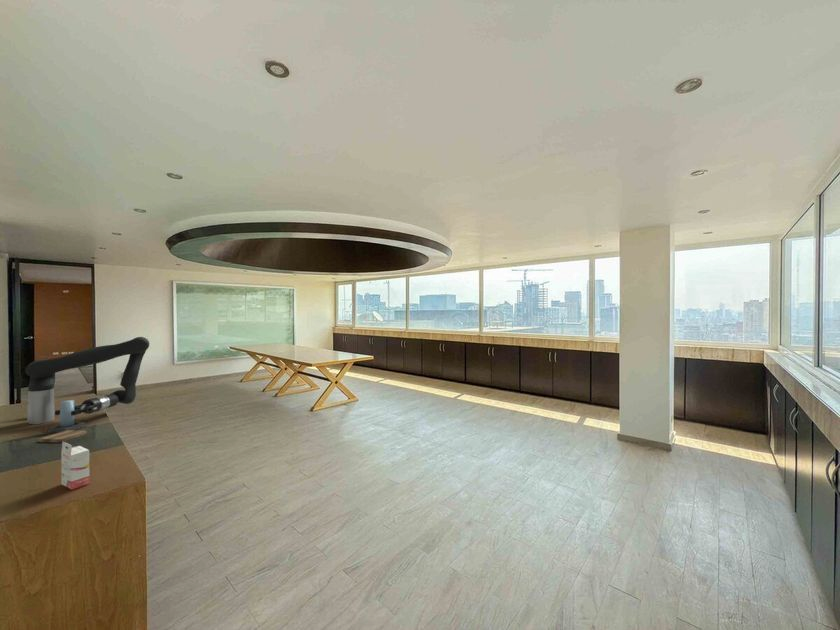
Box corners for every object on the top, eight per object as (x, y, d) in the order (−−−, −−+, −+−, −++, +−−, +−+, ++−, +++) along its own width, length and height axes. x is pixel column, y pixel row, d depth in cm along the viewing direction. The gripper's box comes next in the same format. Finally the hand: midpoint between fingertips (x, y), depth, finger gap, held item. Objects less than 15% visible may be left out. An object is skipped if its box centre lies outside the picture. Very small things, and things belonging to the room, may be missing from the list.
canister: (56, 430, 169) (57, 402, 169) (68, 427, 174) (68, 399, 174) (66, 431, 169) (66, 402, 169) (77, 427, 174) (77, 400, 174)
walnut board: (39, 442, 155) (38, 438, 155) (65, 433, 166) (65, 430, 166) (61, 442, 154) (61, 439, 154) (86, 433, 165) (86, 430, 165)
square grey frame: (48, 432, 167) (48, 428, 167) (68, 426, 176) (68, 422, 176) (65, 432, 167) (65, 428, 167) (84, 426, 176) (84, 422, 176)
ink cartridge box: (90, 483, 117) (90, 441, 117) (71, 490, 113) (70, 446, 113) (80, 478, 121) (79, 436, 121) (60, 484, 117) (60, 441, 117)
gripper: (83, 397, 186) (50, 405, 170) (108, 397, 186) (77, 406, 169) (83, 411, 187) (50, 420, 170) (108, 411, 186) (77, 421, 170)
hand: (63, 413), depth 170 cm, fingers open, 8 cm apart
